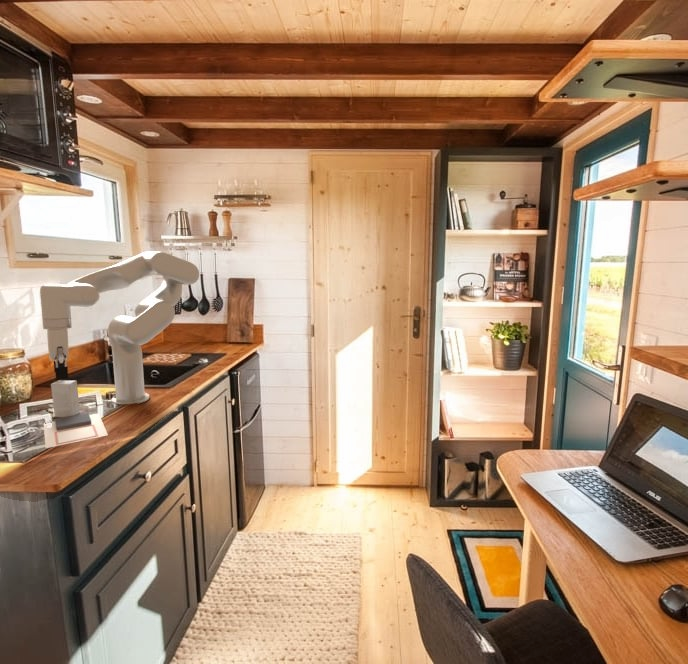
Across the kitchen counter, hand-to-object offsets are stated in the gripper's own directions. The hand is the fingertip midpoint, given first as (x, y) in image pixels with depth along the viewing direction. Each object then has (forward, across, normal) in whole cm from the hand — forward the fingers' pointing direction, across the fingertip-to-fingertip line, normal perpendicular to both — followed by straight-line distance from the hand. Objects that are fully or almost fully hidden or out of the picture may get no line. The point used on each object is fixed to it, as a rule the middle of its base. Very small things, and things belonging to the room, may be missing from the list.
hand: (61, 375), depth 134 cm
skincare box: (+14, 0, +1) cm, 15 cm away
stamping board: (+14, +15, +2) cm, 21 cm away
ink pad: (+14, +9, +2) cm, 16 cm away
